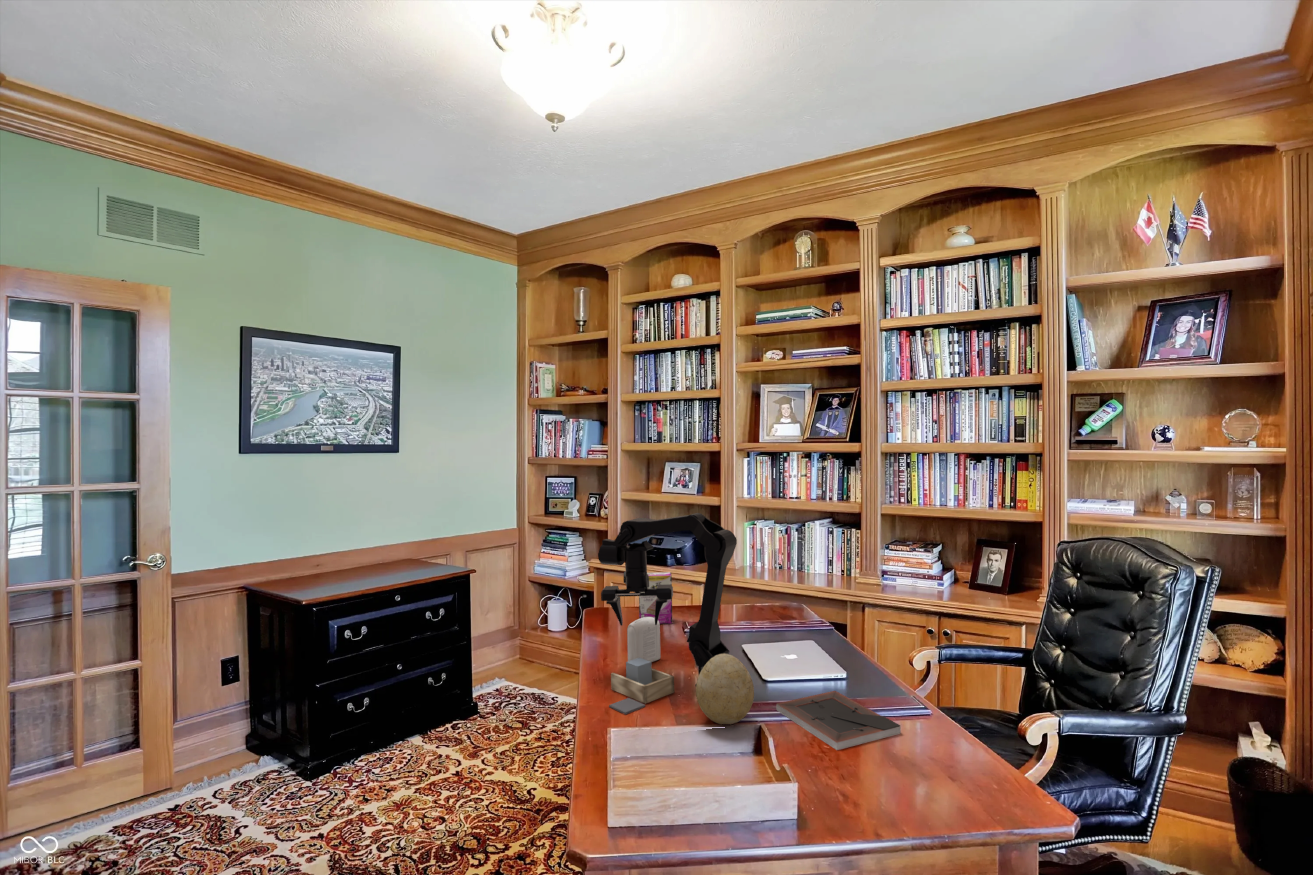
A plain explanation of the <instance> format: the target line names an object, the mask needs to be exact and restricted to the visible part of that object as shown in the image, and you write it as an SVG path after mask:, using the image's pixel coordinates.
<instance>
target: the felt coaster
mask: <svg viewBox="0 0 1313 875" xmlns="http://www.w3.org/2000/svg"><path fill="white" fill-rule="evenodd" d="M608 708H609V709H612V710H615V711H616V712H618V713H621V714H623V715H629V714H631V713H633V712H637V711H639V710H641V709H643V708H646V704H645V703H642V702H640V701H638V700H635V699H633V698H631V697H626V698H625V699H621V700H619V701H616V702H614V703H611V704H609V705H608Z"/></svg>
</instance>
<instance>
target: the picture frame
mask: <svg viewBox="0 0 1313 875" xmlns="http://www.w3.org/2000/svg"><path fill="white" fill-rule="evenodd" d="M776 711H777V712H778V713H780V714H782V715H783V716H784V717H785V718H788V719H789V720H790V721H792V722H794V723H795V724H796V725H799V727H801V728H802V729H804V730H805V731H807V732H809V733H810V734H811V735H813V736H815V737H816V738H818V739H819V740H820V741H822V742H824V743H825V744H827V745H828V746H829V747H832V748H833V749H834V750H836V751H840V750H843V749H847V748H850V747H854V746H858V745H861V744H862V745H863V744H866V743H870V742H873V741H878V740H882V739H884V738H889V737H893V736H896V735H900V734H901V731H902V730H901V727H902V726H901V725H900V724H899V723H896V722H895V721H893V720H891V719H889V718H888V717H886V716H884V715H881V714H879V713H877V712H875V711H873V710H871V709H869V708H867V707H866V706H864V705H862V704H860V703H859V702H857V701H855V700H854V699H851V698H849V697H847V696H846V695H844V694H843V693H840V692H838V691H837V690H833V691H827V692H822V693H818V694H813V695H810V696H804V697H801V698H795V699H791V700H786V701H782V702H777V703H776Z"/></svg>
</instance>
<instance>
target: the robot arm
mask: <svg viewBox="0 0 1313 875" xmlns="http://www.w3.org/2000/svg"><path fill="white" fill-rule="evenodd" d="M685 531H690V532H691V533H692V534H693V536H694V537H695V539H696V540H697V541H698V543H700V544H701V545H702V546H703V547H704V558H705V560H706V561H705V562H706V564H707V569H706V575H705V580H704V581H705V582H704V588H703V594H702V599H701V600H702V601H701V607H700V613H699V618H698V621H697V622H695V623H693V624H691V625H690V626H689V629H688V638H687V639H686V642H687V643H688V650H689V651H690V652H691V655H693V659H694V661H695V665H696V667H698V675H699V674H700V672H701V670H702V669H703V667H704V666H705V664H706V663H707V662H708V661H709V660H710V659H711V658H713V657H714V656H716V655H719V654H729V655H730V650H729V648H728V647H727V646H726V645H725V643H723V641H722V640H721V629H720V624H719V615H720V608H721V601H722V595H723V591H724V583H725V577H726V572H727V571H726V570H727V567H728V565H729V564H730V562H731V560H732V558H733V555H734V552H735V550H736V547H737V543H738V539H737V536H736V535H735V534H734V533H733V532H732V531H731V530H729V529H725V528H724V527H723V526H721V525H720V524H718V523H717V522H715V521H713V520H710V519H709V518H708V517H707V516H705V515H704V514H702V512H701V513H700V512H696V513H692V514H688V515H687V514H686V515H680V516H674V517H667V518H660V519H653V518H645V517H638V518H637V517H636V518H634V519H629V520H626V521H623V522H622V523H621V526H620V528H619V532H618V534H617V535H616V537H615V539H611V538H610V539H609V538H605V539H602V540H601V545H600V547H599V550H598V553H597V558H598V561H599V563H600V564H601V565H607V566H608V565H611V566H622V565H623V566H624V565H625V567H624V568H625V569H624V570H625V571H623V583H624V584H625V588H623V589H620V588H619V585H606V586H604V587H603V589H602V590H601V592H600V597H601V598H600V601H602V602H605V603H606V605H610V606H611V609H612V610H613V612H614V615H615V616H616V618H617V620H618V623H619V625H620V626H621V627H623V625H624V624H623V623H624V621H623V620H624V619H623V612H622V606H621V598H622V597H639V596H657V599H656V606H655V625H657V622H658V618H659V614H660V610H661V607H662V605H663V603H667V601H668V600H670V599H672V600H673V596H674V587H673V584H672V585H671V584H670V585H658V587H657V588H654V589H648V587H649V575H648V574H647V573H648V564H647V551H650V550H653V549H654V546H653V545H652V544H651V543H649V541H648V540H643V539H646V538H649V537H652V536H657V535H662V534H670V533H678V532H685ZM640 540H643V541H641V542H636V541H640ZM627 544H629V545H627ZM640 592H645V593H640ZM696 685H697V683H695V687H696Z"/></svg>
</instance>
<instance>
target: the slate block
mask: <svg viewBox="0 0 1313 875" xmlns="http://www.w3.org/2000/svg"><path fill="white" fill-rule="evenodd" d="M625 672H626V673H625V677H626V678H628V679H631V680H633V681H636V682H638V683H641V684H643V685H647V684H649V683H652V662H651V661H648V660H645V659H642V658H637V659H634V660H631V661H628V660H627V661H625Z"/></svg>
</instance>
